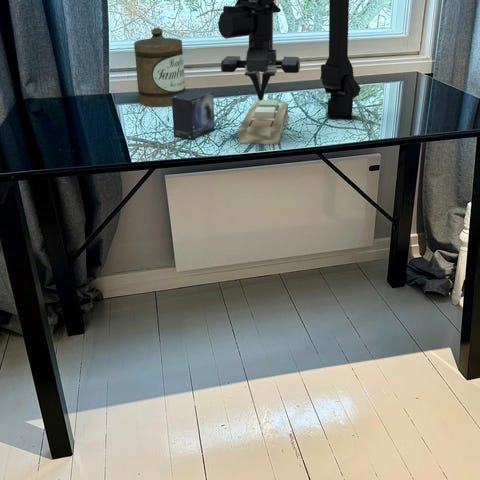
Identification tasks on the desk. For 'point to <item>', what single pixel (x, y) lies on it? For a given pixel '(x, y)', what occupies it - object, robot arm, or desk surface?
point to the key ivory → (264, 112)
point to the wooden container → (159, 69)
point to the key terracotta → (261, 123)
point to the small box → (193, 113)
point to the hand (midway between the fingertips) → (260, 99)
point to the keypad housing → (263, 133)
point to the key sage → (269, 104)
